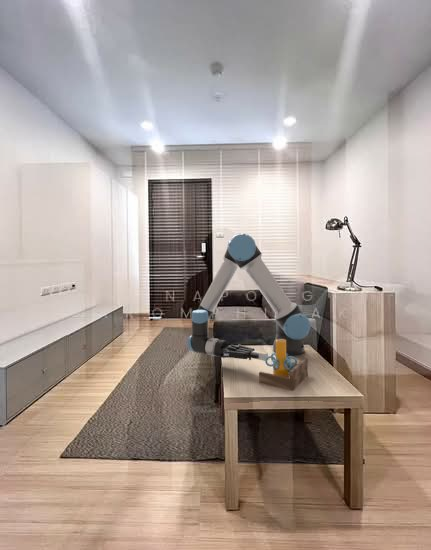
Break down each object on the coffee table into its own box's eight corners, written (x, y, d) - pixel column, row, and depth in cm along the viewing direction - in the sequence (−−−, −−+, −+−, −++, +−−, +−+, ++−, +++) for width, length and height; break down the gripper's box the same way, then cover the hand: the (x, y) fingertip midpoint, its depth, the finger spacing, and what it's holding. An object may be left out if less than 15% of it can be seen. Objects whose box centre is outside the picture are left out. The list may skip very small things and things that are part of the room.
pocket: (276, 369, 133) (276, 352, 133) (307, 375, 126) (307, 358, 125) (259, 382, 120) (258, 364, 119) (292, 390, 112) (292, 371, 112)
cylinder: (294, 372, 129) (294, 336, 128) (299, 383, 118) (299, 344, 117) (264, 372, 130) (264, 336, 129) (266, 382, 119) (266, 343, 118)
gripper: (226, 352, 145) (273, 361, 132) (209, 360, 134) (259, 371, 121) (225, 336, 144) (273, 343, 131) (209, 343, 134) (259, 352, 120)
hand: (266, 357), depth 126 cm, fingers closed
